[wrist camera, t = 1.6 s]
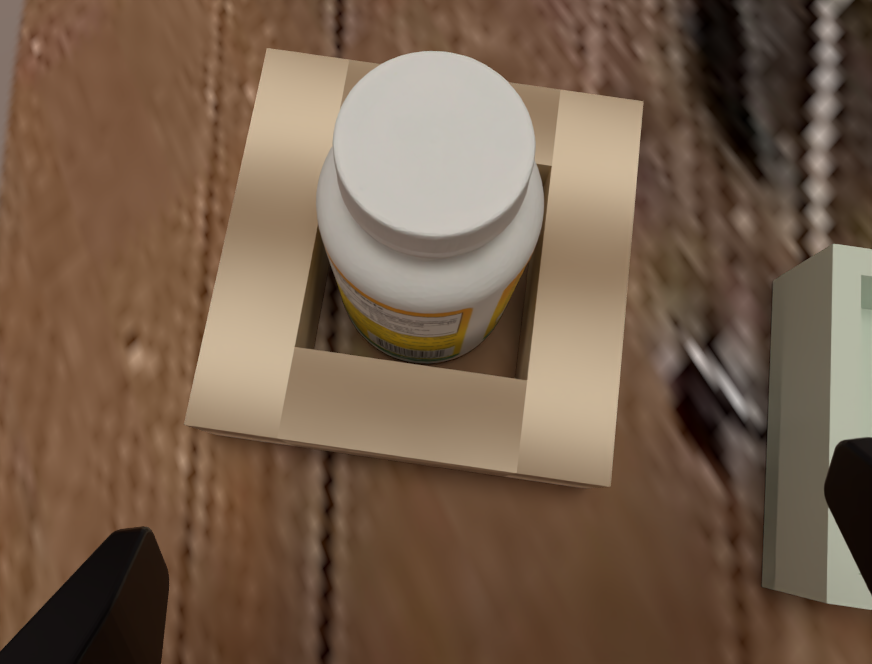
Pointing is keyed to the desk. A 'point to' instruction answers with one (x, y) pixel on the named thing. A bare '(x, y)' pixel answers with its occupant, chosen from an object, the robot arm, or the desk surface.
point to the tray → (816, 420)
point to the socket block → (410, 383)
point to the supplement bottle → (430, 203)
